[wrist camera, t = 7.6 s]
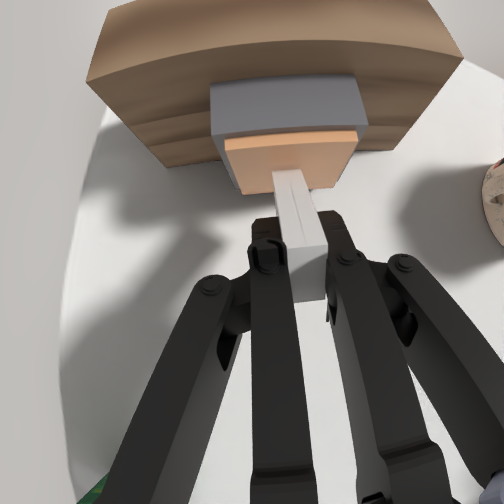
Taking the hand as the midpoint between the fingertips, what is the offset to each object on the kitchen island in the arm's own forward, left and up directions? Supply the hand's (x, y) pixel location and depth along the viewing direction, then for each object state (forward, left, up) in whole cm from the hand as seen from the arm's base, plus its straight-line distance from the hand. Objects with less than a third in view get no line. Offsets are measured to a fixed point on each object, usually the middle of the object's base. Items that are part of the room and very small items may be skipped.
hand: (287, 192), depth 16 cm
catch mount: (+8, 0, -6) cm, 10 cm away
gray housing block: (+5, 0, -4) cm, 7 cm away
